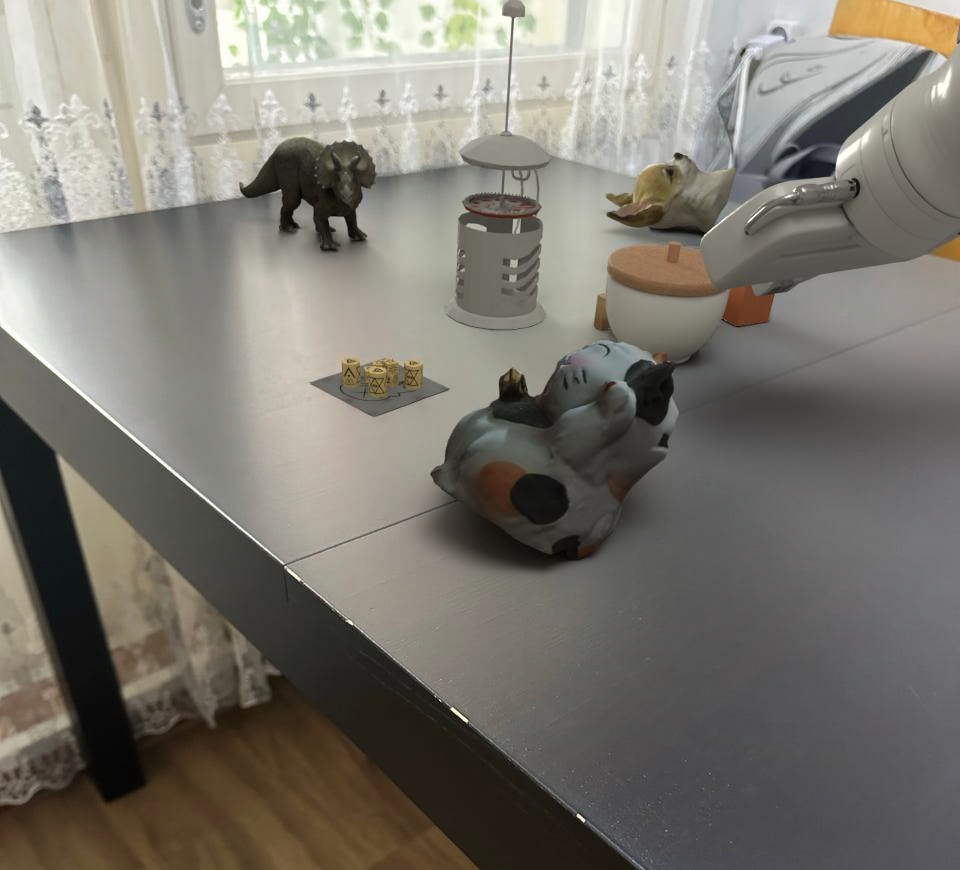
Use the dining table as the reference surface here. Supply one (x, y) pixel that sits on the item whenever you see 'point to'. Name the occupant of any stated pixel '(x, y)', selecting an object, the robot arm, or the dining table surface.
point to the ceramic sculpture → (674, 196)
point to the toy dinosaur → (317, 183)
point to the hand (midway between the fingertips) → (766, 285)
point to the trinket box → (662, 299)
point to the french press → (500, 231)
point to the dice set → (379, 384)
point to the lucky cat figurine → (564, 447)
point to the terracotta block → (747, 307)
